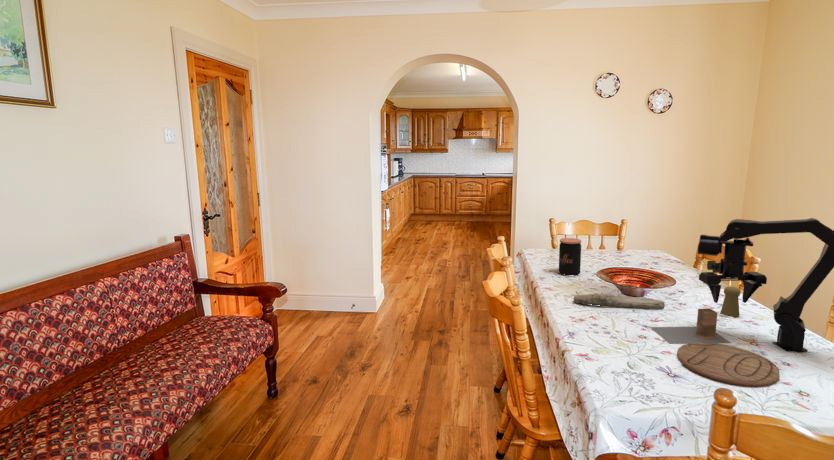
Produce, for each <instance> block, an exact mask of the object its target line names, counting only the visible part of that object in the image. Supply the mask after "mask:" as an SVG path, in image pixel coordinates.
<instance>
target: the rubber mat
mask: <svg viewBox="0 0 834 460" xmlns="http://www.w3.org/2000/svg"><path fill="white" fill-rule="evenodd" d="M649 328H650V329H651V330H652V331H653V332H655V333H656V334H657V335H658V336H659V337H660V338H662V339H663V340H664V341H665V342H667V343H669V344H670V345H685V344H689V343H698V342H704V343H717V344H732V342H731V341H730V340H728V339H726V338H725V337H724V336H722V335H720V334H718V333H717V332H716V334H715V338H702V337H700V336H699V335H697V334H696V328H697V326H649Z"/></svg>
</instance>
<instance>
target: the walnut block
mask: <svg viewBox="0 0 834 460" xmlns="http://www.w3.org/2000/svg"><path fill="white" fill-rule="evenodd" d="M696 317H697V319H696V321H697V322H696V327H697V328H696V334H697V335H699V336H700V337H702V338H715V334H716V333H717V323H718V312H717V311H715V310H713V309H711V308H698V309H697V316H696Z"/></svg>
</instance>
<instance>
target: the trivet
mask: <svg viewBox="0 0 834 460" xmlns="http://www.w3.org/2000/svg"><path fill="white" fill-rule="evenodd" d="M676 356H677V359H678V362H680V363H681V366H683V367H684V368H685V369H686V370H688V371H689V372H692V373H694V374H696V375H697V376H700V377H702V378H706V379H708V380H711V381H713V382H717V383H720V384H721V383H722V384H725V385H731V386H736V387H742V388H743V387H747V388H763V387H768V386H772V385H774V384H776V383H777V382H778V381H779V380H780V368H778V366H777V365H776V364H775V363H774V362H772V361H771V360H770V359H768V358H766V357H764V356H762V355H760V354H758V353H755V352H753V351H750V350H748V349H745V348H740V347H737V346H733V345H728V344H725V343H704V342H698V343H689V344H682V345H681V346H680V347H678V349H677V351H676Z"/></svg>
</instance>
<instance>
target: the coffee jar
mask: <svg viewBox="0 0 834 460" xmlns="http://www.w3.org/2000/svg"><path fill="white" fill-rule="evenodd" d="M581 243H582V240H581V239H579V238H576V237H575V238H574V237H564V238H560V239H559V251H558V252H559V253H558V254H559V255H558V272H560V273H561V274H565V275H577V276H579V275H580V274H581V262H582V258H581V256H582V244H581ZM560 273H559V274H560ZM561 274H560V275H561ZM578 274H579V275H578Z"/></svg>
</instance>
